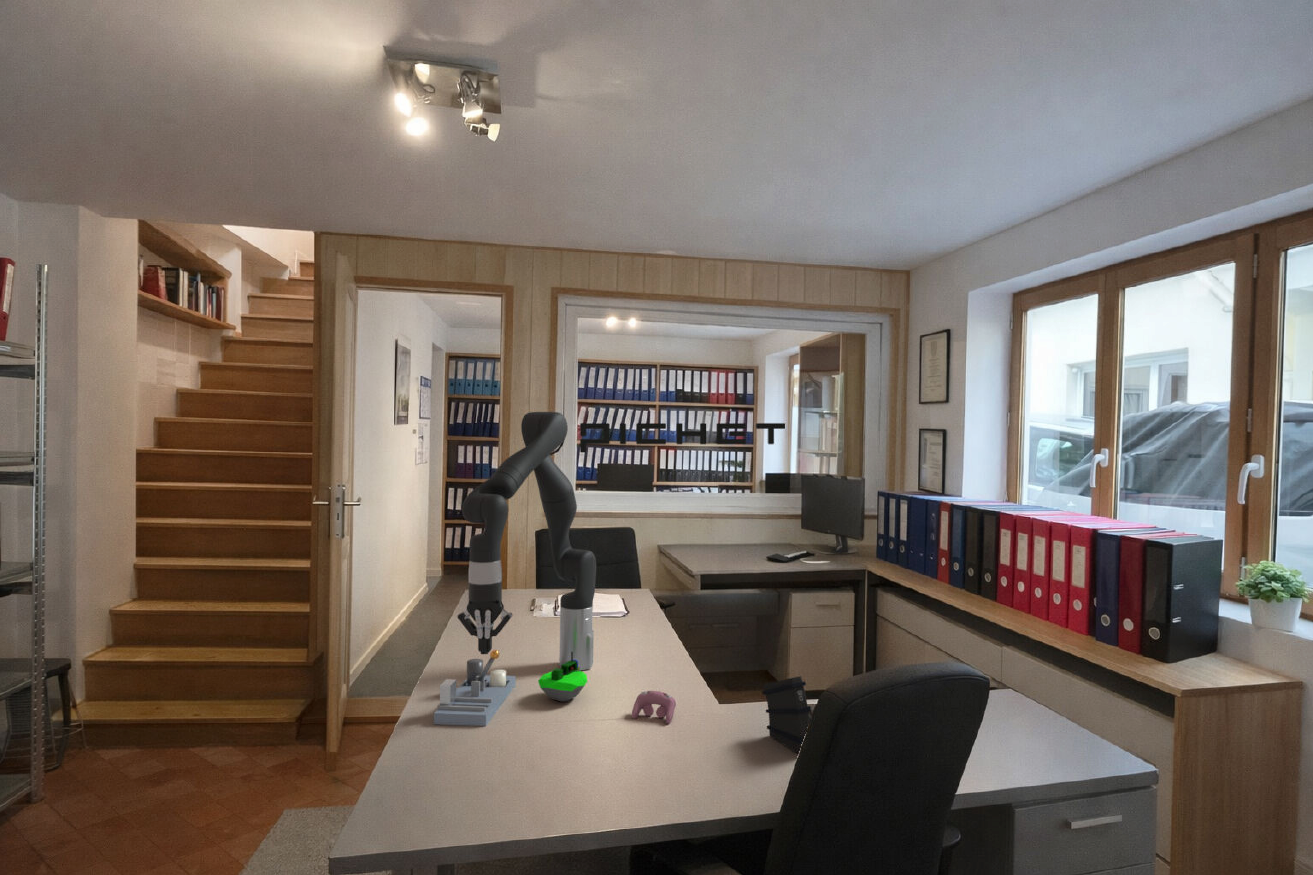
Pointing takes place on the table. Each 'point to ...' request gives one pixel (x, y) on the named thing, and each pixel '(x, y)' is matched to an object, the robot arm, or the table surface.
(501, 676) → the button
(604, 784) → the table surface
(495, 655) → the toggle lever
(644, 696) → the video game controller
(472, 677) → the button
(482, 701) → the panel
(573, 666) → the green floating island model
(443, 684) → the slider knob
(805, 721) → the magazine
